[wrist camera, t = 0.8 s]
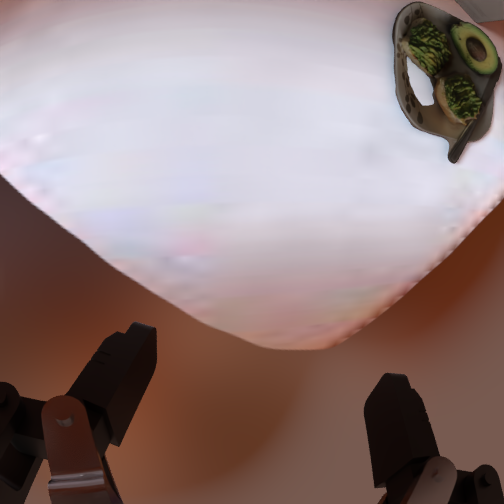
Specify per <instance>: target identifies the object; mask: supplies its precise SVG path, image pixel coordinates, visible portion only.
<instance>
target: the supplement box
mask: <svg viewBox="0 0 504 504" xmlns="http://www.w3.org/2000/svg"><path fill="white" fill-rule="evenodd" d="M455 1H456V2H457V3H458V4H459V5H460V6H461V7H462V8H463V9H464V10H465V11H466V12H467V13H468V14H469V15H470V17H471V18H472V19H473V20H474V21H475V22H476V23H482V22H490V21H499V20H504V0H455Z"/></svg>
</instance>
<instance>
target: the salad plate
mask: <svg viewBox="0 0 504 504" xmlns="http://www.w3.org/2000/svg"><path fill="white" fill-rule="evenodd" d="M392 39H393V44H394V74H395V83H396V96H397V99H398V102H399V105H400V107H401V110H402V111H403V113H404V114H405V116H406V118H407V119H408V120H409V122H410V123H411V125H412V126H413V127H415V128H417V129H418V130H421V131H425V132H427V133H430V134H433V135H437V136H441V137H443V138H444V139H446V140H447V141H448V142H449V152H448V159H449V161H450V162H451V163H453V164H455V163H456V162H457V160H458V159H459V157H460V155H461V154H462V152H463V150H464V148H465V146H466V144H467V143H469V142H474V141H477V140H479V139H480V138H481V137H483V136H484V135H485V134H486V132H487V131H488V130H489V128H490V125H491V120H492V114H493V98H494V87H495V85H496V82H498V80H499V77H500V73H501V69H502V63H501V60H500V57H498V54H497V51H496V48H495V46H494V44H493V43H492V41H491V40H490V39H489V37H488V36H487V35H486V34H485V33H484V32H483V31H482V30H481V29H479V28H478V27H477V26H475V25H473V24H471V23H469V22H464V21H462V20H461V19H458V18H457V17H454V16H453V15H451V14H448V13H446V12H445V11H443V10H440V9H438V8H436V7H434V6H431V5H429V4H426V3H423V2H413V3H410V4H408V5H407V6H405V7H404V8H403V9H402V10H401V11H400V12H399V13H398V15H397V17H396V19H395V23H394V27H393V33H392ZM406 56H408V57H409V58H410V59H411V61H412V62H413V63H414V64H416V65H417V66H418V67H419V68H420V69H421V70H422V71H424V72H425V73H426V75H427V76H428V77H429V78H430V81H431V83H432V86H433V90H434V91H433V94H432V96H433V99H434V104H433V105H429V106H422V105H421V103H420V102H419V101H418V99H417V98H416V96H415V94H414V91H413V89H412V87H411V85H410V82H409V76H408V73H407V70H408V69H407V59H406Z"/></svg>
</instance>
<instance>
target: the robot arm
mask: <svg viewBox="0 0 504 504" xmlns="http://www.w3.org/2000/svg"><path fill="white" fill-rule="evenodd" d="M156 333H157V332H156V328H155V327H151V326H148V325H145V324H142V323H139V322H133V323H132V324H131V326H130V327H129V329H128V330H127V332H126V333H125V334H124V333H121V332H118V331H117V332H116V333H114V334H112V335H111V336H109V337H107V338H106V339H105V340H104V341H103V342H102V344H101V345H100V347H99V348H98V349H97V352H95V354H94V355H93V356H92V358H91V360H90V361H89V362H88V363H87V365H86V366H85V368H84V369H83V371H82V372H81V373H80V375H79V376H78V378H77V379H76V381H75V382H74V384H73V385H72V387H71V388H70V390H69V391H68V392H67V393H66V394H65V395H60V396H56V397H53V398H51V399H50V400H48V401H40V400H35V399H31V398H26V397H21V396H20V395H19V393H18V391H17V390H16V388H15V387H14V386H12V385H11V384H9V383H7V382H0V504H24V502H25V499H26V497H27V495H28V493H29V490H30V488H31V486H32V483H33V481H34V479H35V477H36V474H37V472H38V470H39V468H40V466H41V463H42V461H43V459H47V460H48V463H49V467H50V472H51V480H50V481H49V483H48V490H49V496H50V499H51V503H52V504H124V503H123V501H122V499H121V497H120V495H119V492H118V489H117V486H116V484H115V481H114V478H113V476H112V473H111V470H110V467H109V464H108V461H107V458H106V455H105V451H106V449H107V447H108V445H109V443H111V444H113V445H116V446H118V447H119V446H120V444H121V442H122V440H123V438H124V435H125V433H126V431H127V429H128V427H129V424H130V422H131V420H132V418H133V416H134V414H135V411H136V410H137V407H138V405H139V403H140V401H141V399H142V397H143V395H144V393H145V391H146V389H147V386H148V384H149V382H150V380H151V378H152V376H153V374H154V371H155V368H156V363H157V335H156ZM364 418H365V424H366V430H367V436H368V443H369V448H370V456H371V463H372V471H373V479H374V487H375V488H383V487H386V490H387V493H385V494H384V495H383V496H382V498H381V499H380V501H379V502H378V504H504V496H503V492H502V488H501V484H500V480H499V476H498V474H497V472H496V470H495V469H494V468H493V467H492V466H490V465H481V466H479V467H478V468H477V469H476V470H474V471H473V472H468V471H462V470H456V468H455V466H454V464H453V463H452V462H451V461H450V460H449V459H447V458H445V457H442V456H440V454H439V451H438V447H437V444H436V441H435V437H434V434H433V431H432V428H431V424H430V422H429V418H428V415H427V413H426V409H425V406H424V403H423V401H422V398H421V397H420V396H419V394H418V393H417V392H416V391H415V389H411V386H410V383H409V381H408V378H407V376H406V375H404V374H394V373H385V374H384V375H383V376H382V378H381V379H380V381H379V382H378V384H377V385H376V387H375V388H374V389H373V391H372V392H371V394H370V395H369V397H368V398H367V400H366V403H365V406H364Z"/></svg>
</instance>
